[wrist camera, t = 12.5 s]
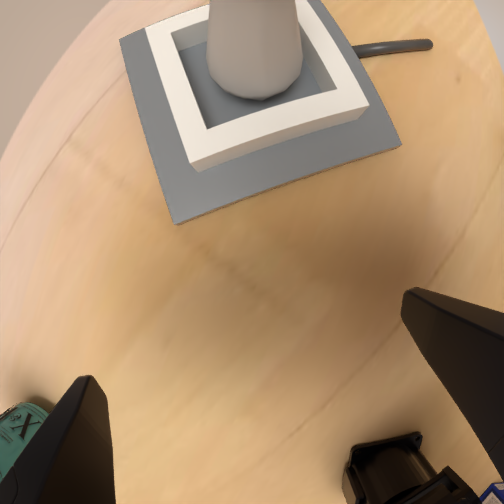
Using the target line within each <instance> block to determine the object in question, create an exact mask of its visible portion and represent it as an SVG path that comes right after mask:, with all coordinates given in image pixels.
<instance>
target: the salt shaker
mask: <svg viewBox="0 0 504 504" xmlns="http://www.w3.org/2000/svg"><path fill="white" fill-rule="evenodd" d="M206 60H207V64H208V69H209V73H210V76H211V77H212V79H213V80H214V81H215V82H216V83H217V84H218V85H219V86H220V87H221V88H222V89H223V90H224V91H225V92H227V93H229V94H231V95H233V96H235V97H241V98H244V99H253V100H258V101H263V100H265V99H266V98H269V97H271V96H273V95H276V94H278V93H281V92H283V91H285V90H286V89H287V88H288V87H289V86H290V85H291V84H292V83H293V82H294V81H295V80H296V79H297V78H298V77H299V75H300V72H301V67H302V61H303V53H302V45H301V37H300V30H299V23H298V16H297V10H296V3H295V0H210V5H209V18H208V33H207V50H206Z"/></svg>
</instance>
